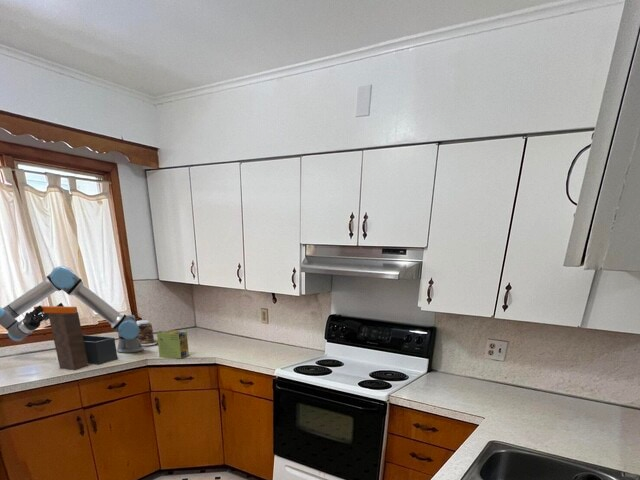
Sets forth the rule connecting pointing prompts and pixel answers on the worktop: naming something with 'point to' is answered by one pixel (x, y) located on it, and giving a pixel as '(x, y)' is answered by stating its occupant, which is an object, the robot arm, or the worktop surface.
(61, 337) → the stand
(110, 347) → the trash bin
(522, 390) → the worktop surface
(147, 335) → the jar
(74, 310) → the orange bar
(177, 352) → the protein box
